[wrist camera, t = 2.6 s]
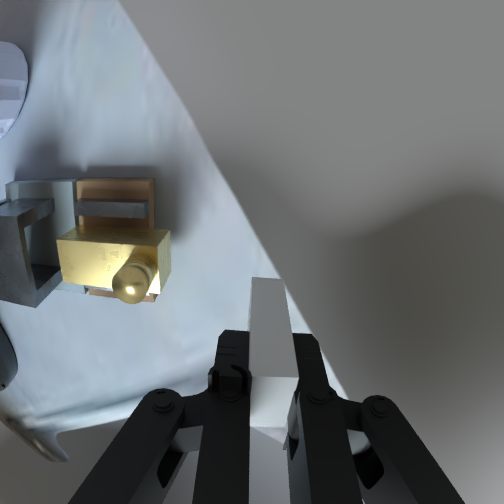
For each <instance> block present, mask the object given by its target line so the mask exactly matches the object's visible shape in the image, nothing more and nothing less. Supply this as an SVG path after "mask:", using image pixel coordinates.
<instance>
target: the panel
mask: <svg viewBox="0 0 504 504" xmlns="http://www.w3.org/2000/svg"><path fill="white" fill-rule="evenodd" d="M5 188H6V199H9V198H11V201H13V200H15V199H18V198H54V203H55V211H54V212H52V213H50V214H49V215H47V216H45V217H43V218H41V219H40V220H38V221H36V222H34V223H33V224H31V225H29V226H27V227H26V228H24V230H25V237H26V243H27V249H28V254H29V259H30V263H33V264H41V265H49V266H57V267H61V266H60V261H59V255H58V248H57V241H56V239H58V238H59V237H61V236H62V235H64V234H65V233H66V232H68V231H69V230H71V229H72V228H74V227H75V226H77V225H95V226H114V227H132V228H149V229H155V227H154V179H150V178H75V179H45V180H25V181H13V182H10V183H7V184H5ZM80 198H111V199H145V200H149V215H148V216H147V217H146V218H145V219H142V218H121V217H98V216H75V209H74V201H76V200H78V199H80ZM55 289H56V290H62V291H69V292H75V293H82V294H86V293H87V291H88V290H89V295H96V296H104V297H112V298H118V297H117V296H116V295H115V293H114V291H106V290H98V289H90V288H85V286H84V285H81V284H74V283H66V282H63V281H62V282H61V283H60V284H59V285H58V286H57V287H56V288H55ZM157 295H158V293H150V295H146V296H145V298H144V299H143V300H142V301H145V302H154V301H155V299H156V297H157Z"/></svg>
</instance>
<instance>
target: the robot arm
mask: <svg viewBox="0 0 504 504" xmlns="http://www.w3.org/2000/svg"><path fill="white" fill-rule="evenodd" d="M16 374H17V361H16V357H15V354H14V351H13V349H12V346H11V344H10V342H9V340H8V338H7V336H6V335H5V333H4V331H3V329H2V328H1V326H0V391H2V390H4V389H5V388H7V387H8V386H9V384H10V383H11V381H12V380H13V379H14V377H15V376H16ZM287 420H288V433H287V436H286V440H285V443H284V447H283V450H286V448H287V457H288V458H287V459H288V473H289V489H290V503H291V504H363V501H362V499H363V500H364V502H365V504H465V503H464V501H463V500H462V498H461V497H460V496H459V494H458V493H457V491H456V490H455V488H454V487H453V485H452V484H451V482H450V481H449V479H448V478H447V476H446V475H445V474H444V472H443V471H442V469H441V468H440V466H439V465H438V463H437V462H436V461H435V459H434V458H433V456H432V455H431V453H430V452H429V451H428V449H427V448H426V446H425V445H424V443H423V442H422V441H421V439H420V438H419V436H418V435H417V434H416V432H415V431H414V429H413V428H412V427H411V425H410V424H409V422H408V421H407V420H406V418H405V417H404V415H403V414H402V413H401V411H400V410H399V408H398V407H397V406H396V404H394V402H393V401H392V400H390V399H389V398H387V397H385V396H380V395H375V396H370V397H368V398H366V399H365V400H364V401H363V402H362V403H359V402H354V401H349V400H346V399H343V398H341V397H339V396H338V395H337V393H336V391H335V390H334V389H333V388H331V387H330V386H329V382H328V378H327V374H326V370H325V366H324V362H323V359H322V354H321V352H320V347H319V343H318V341H317V340H316V339H315V337H314V336H313V335H312V334H304V333H292V330H291V324H290V317H289V311H288V305H287V299H286V293H285V287H284V281H283V279H273V278H259V277H252V282H251V294H250V305H249V316H248V331H237V330H224V331H223V333H222V334H221V335H220V336H219V338H218V345H217V351H216V357H215V363H214V366H213V367H212V368H211V369H210V371H209V373H208V388H207V389H206V390H205V391H204V392H202V393H199V394H197V395H192V396H185V397H181V396H180V394H179V393H177V392H175V391H173V390H171V389H165V388H162V389H155V390H153V391H150V392H149V393H148V394H146V395H145V396H144V397H143V399H142V400H141V402H140V403H139V404H138V406H137V407H136V409H135V410H134V411H133V413H132V414H131V416H130V417H129V418H128V420H127V421H126V423H125V424H124V426H123V427H122V428H121V430H120V431H119V432H118V434H117V435H116V437H115V438H114V440H113V441H112V442H111V444H110V445H109V447H108V448H107V449H106V451H105V452H104V453H103V455H102V456H101V458H100V459H99V460H98V462H97V463H96V465H95V466H94V467H93V469H92V470H91V472H90V473H89V475H88V476H87V477H86V479H85V480H84V482H83V483H82V484H81V486H80V487H79V489H78V490H77V491H76V493H75V494H74V496H73V497H72V498H71V500H70V501H69V503H68V504H162V503H163V501H164V499H165V497H166V495H167V493H168V491H169V489H170V487H171V486H172V484H173V482H174V479H175V478H176V476H177V474H178V472H179V470H180V468H181V466H182V464H183V462H184V460H185V458H186V456H187V454H188V452H190V451H197V450H199V458H198V465H197V472H196V479H195V486H194V494H193V501H192V504H249V450H250V426H256V427H286V424H287Z"/></svg>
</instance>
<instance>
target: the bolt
mask: <svg viewBox="0 0 504 504" xmlns="http://www.w3.org/2000/svg"><path fill="white" fill-rule="evenodd" d="M56 241H57V248H58V255H59V261H60V266H61V272H62V277H63V282H66V283H74V284H81V285H89V286H97V287H105V288H112V289H113V291H114V293H115V295H116V296H117V297H118V298H119V299H120V300H122V301H123V302H125V303H129V304H136V303H139V302H141V301H142V300H143V299H144V298H145V296H146V294H147V292H149V293H159V294H160V293H161V291H162V289H163V287H164V285H165V283H166V281H167V279H168V277H169V275H170V273H171V252H170V230H166V229H149V228H132V227H114V226H95V225H77V226H75V227H74V228H72V229H71V230H69V231H68V232H66V233H65V234H64V235H62V236H61V237H59V238H58V239H56Z"/></svg>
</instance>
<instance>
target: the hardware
mask: <svg viewBox="0 0 504 504" xmlns="http://www.w3.org/2000/svg"><path fill="white" fill-rule="evenodd" d="M74 209H75V216H98V217H121V218H142V219H145V218H146V217H147V216H148V215H149V200H145V199H111V198H80V199H78V200H76V201H74ZM54 211H55V203H54V198H18V199H15V200H13V201H11V198H9V199H4V200H2V201H0V300H3V301H7V302H11V303H16V304H20V305H24V306H29V307H34V308H36V307H37V306H38V305H39V304H40V303H41V302H42V301H43V300H44V299H45V298H46V297H47V296H48V295H49V294H50V293H51V292H52V291H53V290H54V289H55V288H56V287H57V286H58V285H59V284H60V283H61V282H62V281H63V277H62V272H61V267H57V266H49V265H41V264H33V263H30V259H29V254H28V249H27V243H26V237H25V230H24V228H26V227H27V226H29V225H31V224H33V223H34V222H36V221H38V220H40V219H41V218H43V217H45V216H47V215H49V214H50V213H52V212H54ZM84 286H85V288H90V289H98V290H106V291H113V289H112V288H105V287H97V286H89V285H84ZM146 295H150V293H149V292H147V294H146Z"/></svg>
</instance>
